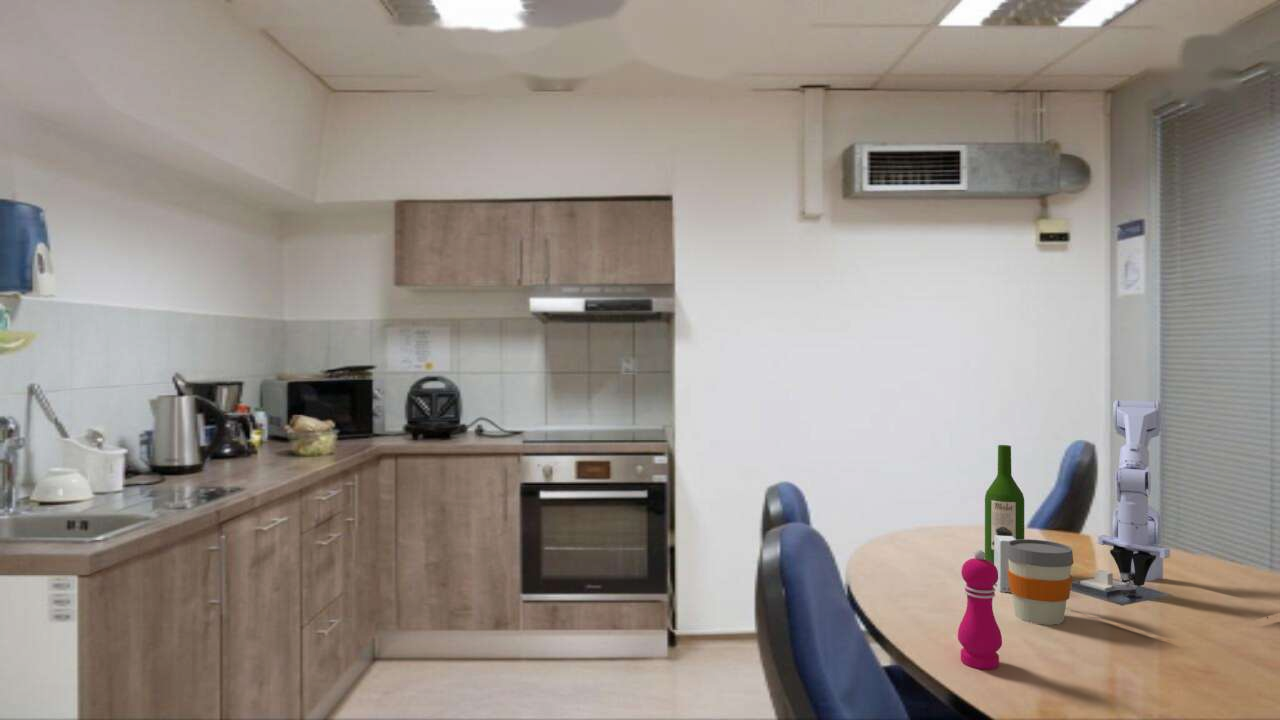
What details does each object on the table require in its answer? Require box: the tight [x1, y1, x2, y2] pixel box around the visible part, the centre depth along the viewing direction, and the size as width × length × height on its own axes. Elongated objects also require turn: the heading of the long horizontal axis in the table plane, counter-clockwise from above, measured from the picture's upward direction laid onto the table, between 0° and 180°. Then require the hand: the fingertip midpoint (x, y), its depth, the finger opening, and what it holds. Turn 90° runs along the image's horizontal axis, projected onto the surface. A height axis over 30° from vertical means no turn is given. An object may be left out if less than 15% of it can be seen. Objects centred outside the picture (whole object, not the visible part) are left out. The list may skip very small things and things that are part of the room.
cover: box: [1079, 569, 1128, 591], centre depth 177 cm, size 8×6×4 cm
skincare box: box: [994, 535, 1016, 593], centre depth 179 cm, size 6×4×12 cm
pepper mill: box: [957, 549, 1003, 670], centre depth 135 cm, size 7×7×20 cm
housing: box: [1070, 577, 1173, 606], centre depth 175 cm, size 18×16×2 cm
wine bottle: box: [984, 444, 1025, 564], centre depth 191 cm, size 9×9×32 cm
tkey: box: [1112, 572, 1137, 594], centre depth 170 cm, size 1×7×5 cm, turn 95°
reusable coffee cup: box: [1006, 538, 1075, 626], centre depth 159 cm, size 13×13×15 cm
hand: (1132, 583), depth 171 cm, fingers closed on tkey, 2 cm apart
